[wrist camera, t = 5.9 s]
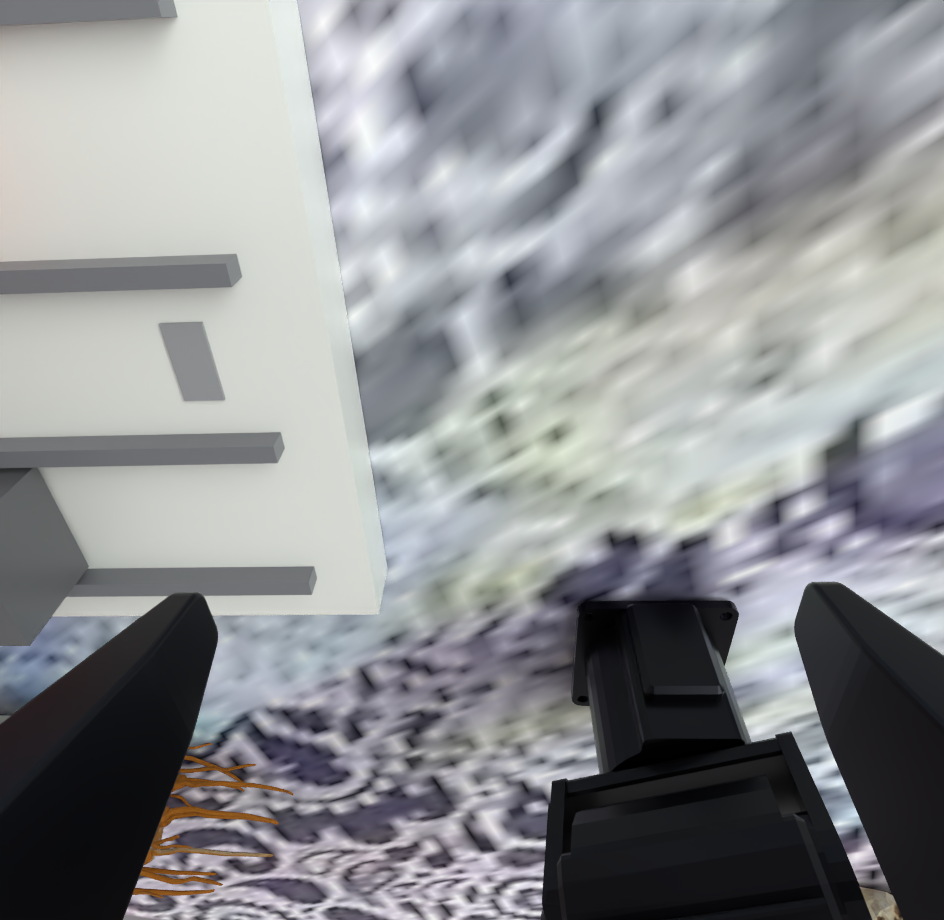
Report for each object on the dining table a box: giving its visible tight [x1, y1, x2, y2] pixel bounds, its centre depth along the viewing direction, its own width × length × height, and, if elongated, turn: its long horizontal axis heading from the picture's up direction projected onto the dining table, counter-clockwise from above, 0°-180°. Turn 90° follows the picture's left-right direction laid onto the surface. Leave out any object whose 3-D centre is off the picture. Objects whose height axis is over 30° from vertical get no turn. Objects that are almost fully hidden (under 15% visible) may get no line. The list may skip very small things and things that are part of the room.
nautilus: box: [0, 715, 293, 898], centre depth 32 cm, size 8×22×15 cm
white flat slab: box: [0, 0, 388, 617], centre depth 18 cm, size 26×16×3 cm, turn 2°
